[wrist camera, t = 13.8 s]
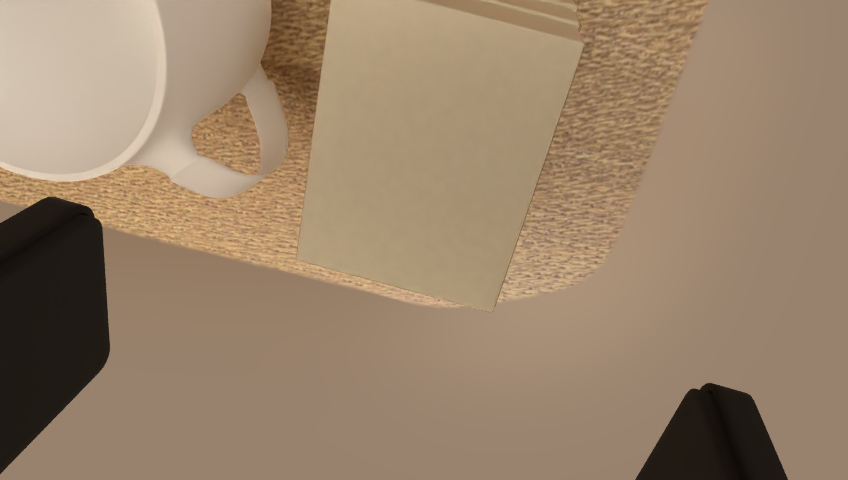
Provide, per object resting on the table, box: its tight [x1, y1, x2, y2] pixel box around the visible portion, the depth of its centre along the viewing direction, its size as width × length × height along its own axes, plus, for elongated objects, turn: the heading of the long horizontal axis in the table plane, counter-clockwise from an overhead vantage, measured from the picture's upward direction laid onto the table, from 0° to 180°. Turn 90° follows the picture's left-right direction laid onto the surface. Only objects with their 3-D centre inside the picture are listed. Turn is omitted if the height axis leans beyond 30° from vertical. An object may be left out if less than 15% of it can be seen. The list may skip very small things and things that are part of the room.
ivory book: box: [296, 0, 584, 313], centre depth 20 cm, size 7×9×3 cm
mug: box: [0, 0, 289, 198], centre depth 21 cm, size 12×9×12 cm
